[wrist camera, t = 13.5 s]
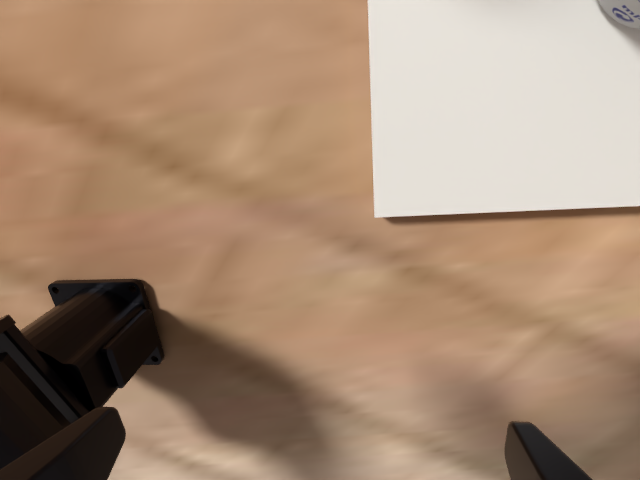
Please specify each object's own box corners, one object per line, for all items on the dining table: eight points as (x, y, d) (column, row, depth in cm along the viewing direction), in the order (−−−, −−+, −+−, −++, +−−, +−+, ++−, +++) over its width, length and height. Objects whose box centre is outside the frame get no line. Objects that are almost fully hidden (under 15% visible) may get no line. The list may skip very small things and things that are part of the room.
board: (374, 210, 19) (374, 217, 18) (363, -125, 14) (363, -143, 13) (710, 195, 17) (734, 201, 16) (841, -210, 12) (889, -240, 11)
